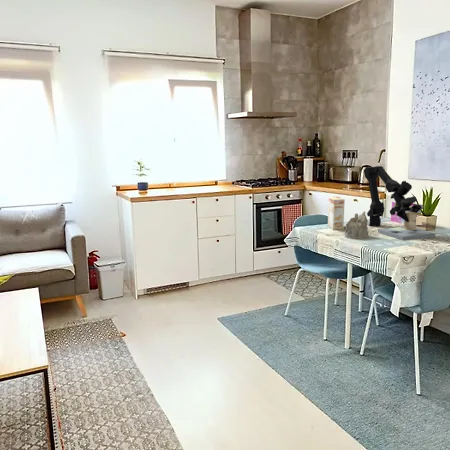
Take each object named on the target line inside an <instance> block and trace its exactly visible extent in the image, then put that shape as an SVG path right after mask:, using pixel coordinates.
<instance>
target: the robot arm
mask: <svg viewBox="0 0 450 450" xmlns="http://www.w3.org/2000/svg"><path fill="white" fill-rule="evenodd" d="M363 174H364V177H365V179H366V180H367V181H368V187H369V193H370V194H369V195H370V199H371V203H370V205H369V210H368V211H367V212H366V214H367V215H366V217H369V224H368V226H370V227H380V226H381V225H382V224H381V223H382V218H381V217H383V216H384V213H385V205H384V204H385V203H384V202H382V201H381V200H380V195H379V190H378V189H379V188H378V182H377V178H378V177H379V178H380V179H381V181H382V182H383V183H384V184H385V185H384V186H385V190H386V191H387V192H388V193H391V194H390V199H393V200H394V202H396V204H395V205H396V206H393V208H392V207H391V208H392V209H391V208H390V210H389V214H390V216H391V215H395V214H396V213H395V212H397V214H396V216H399V217H401V218H402V219H404V220H405V221H407V222H409V219H408V217H407V215H406V213H405V211H408V212H415V213H417V212H418V211H419V210H420V209H421V208H422V207H421V205H422V204H420V205H419V203H416V202H417V201H418V199H417V197H416V195H415V196H414V195H413V196H409V197H405V196H406V195H407V194H408V193H409V192H410V191H411V190H412V188H413V186H412V184H411V183H409V182H407V181H406V180H402V181H401V183H399V182H398V181H397V180H394V179H393V178H392V177H391V176H390V174H388V172H387V171H386V170H385V168H384V167H383V166H382V165H380V166H379V165H378V166H366V167H365V168H364V169H363ZM412 203H414V204H417V205H413V206H412V207H410V206H411V205H412Z"/></svg>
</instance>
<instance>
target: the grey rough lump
mask: <svg viewBox="0 0 450 450" xmlns="http://www.w3.org/2000/svg"><path fill="white" fill-rule="evenodd" d="M367 217H368V216H367V215H366V211H365V210H364V211H363V212H362V213H361V214H358V213H354V217H351V218H350V219H349V221H347V223H346V224H345V231H344V233H343V235H344V238H347V239H348V238H349V239H352V240H356V239H357V240H358V239H366V238H368V237H369V233H368V229H369V227H368V220H369V219H368V218H367Z"/></svg>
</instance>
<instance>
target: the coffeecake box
mask: <svg viewBox="0 0 450 450" xmlns="http://www.w3.org/2000/svg"><path fill="white" fill-rule="evenodd" d="M345 203H346V202H345V198H342V197H341V196H328V205H327V206H328V208H327V209H328V210H327V211H328V212H327V226H328V227H329V228H330V229H332V230H334V231H335V230H336V231H337V230H339V231H340V230H342V231H343V230H344V227H345V226H344V222H345V221H344V220H345Z"/></svg>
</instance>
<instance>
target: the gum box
mask: <svg viewBox="0 0 450 450" xmlns="http://www.w3.org/2000/svg"><path fill="white" fill-rule="evenodd" d="M395 204H396V202H395V201H391V208H390V210H391V209H392V208H393V206H396V205H395ZM417 204H419V203H412V205H411V206H410V207H412V206H413V205H417ZM419 205H421V207H422V208H421V209H423V205H424V204H419ZM405 212H408V211H405ZM395 213H396V214H397V212H395ZM396 214H395V215H391V214H390V221H391V222H395V223H398V222H399V224H402V223H403V225H404V219H402V218H401V217H399V216H396ZM419 214H421V211H420V210H419V211H418V212H417V215H419Z"/></svg>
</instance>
